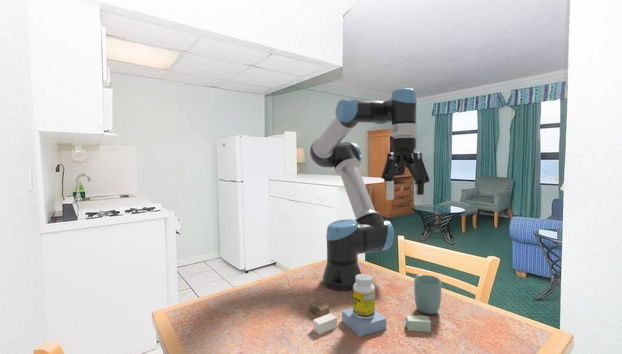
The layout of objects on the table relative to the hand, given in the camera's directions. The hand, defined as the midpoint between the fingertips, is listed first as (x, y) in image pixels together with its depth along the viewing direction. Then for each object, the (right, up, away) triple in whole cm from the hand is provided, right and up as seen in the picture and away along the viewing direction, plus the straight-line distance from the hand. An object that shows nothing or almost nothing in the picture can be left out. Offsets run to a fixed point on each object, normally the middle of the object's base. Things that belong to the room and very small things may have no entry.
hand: (403, 202), depth 99 cm
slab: (-16, -34, -14) cm, 40 cm away
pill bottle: (-15, -31, -14) cm, 37 cm away
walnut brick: (-28, -34, -7) cm, 45 cm away
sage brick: (-1, -34, -16) cm, 37 cm away
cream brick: (-27, -34, -15) cm, 46 cm away
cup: (+5, -33, -7) cm, 34 cm away
